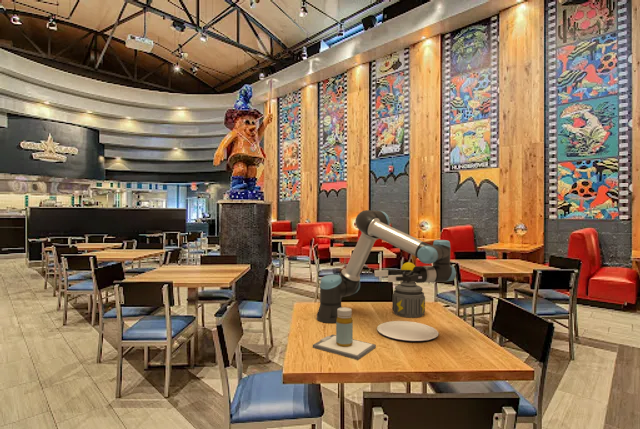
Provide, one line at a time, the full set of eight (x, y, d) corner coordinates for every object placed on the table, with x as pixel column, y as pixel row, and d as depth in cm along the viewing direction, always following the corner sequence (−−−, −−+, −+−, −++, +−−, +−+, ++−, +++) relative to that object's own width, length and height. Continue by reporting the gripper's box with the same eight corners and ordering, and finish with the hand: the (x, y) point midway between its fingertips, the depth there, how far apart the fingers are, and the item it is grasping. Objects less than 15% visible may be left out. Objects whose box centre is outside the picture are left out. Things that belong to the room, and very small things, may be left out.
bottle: (335, 341, 151) (335, 307, 151) (350, 341, 152) (351, 307, 152) (337, 347, 144) (337, 311, 144) (353, 347, 145) (354, 311, 145)
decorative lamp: (402, 307, 214) (402, 259, 214) (431, 313, 201) (431, 262, 201) (385, 313, 201) (386, 262, 201) (415, 320, 187) (415, 265, 188)
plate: (388, 320, 188) (388, 317, 188) (444, 330, 173) (444, 326, 173) (367, 336, 163) (367, 332, 163) (430, 348, 148) (430, 344, 148)
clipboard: (312, 347, 147) (312, 342, 147) (332, 336, 161) (332, 332, 161) (358, 360, 135) (358, 354, 135) (375, 347, 148) (375, 342, 148)
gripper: (439, 287, 147) (394, 290, 141) (409, 277, 171) (369, 279, 165) (439, 270, 147) (394, 272, 141) (409, 262, 171) (370, 263, 165)
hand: (381, 276), depth 153 cm, fingers open, 13 cm apart
